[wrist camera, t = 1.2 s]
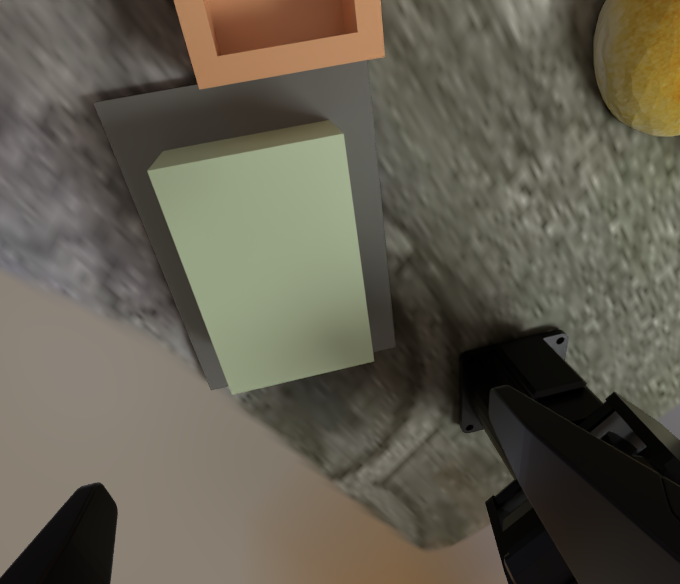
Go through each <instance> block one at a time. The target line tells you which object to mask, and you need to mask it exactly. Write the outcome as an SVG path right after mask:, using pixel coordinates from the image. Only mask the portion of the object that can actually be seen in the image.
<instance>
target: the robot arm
mask: <svg viewBox="0 0 680 584" xmlns="http://www.w3.org/2000/svg"><path fill="white" fill-rule="evenodd" d="M558 338H559V339H558ZM567 344H568V336H567V334H566V333H564V332H563V331H562V330H555V331H551V332H547V333H542V334H538V335H534V336H530V337H526V338H521V339H517V340H513V341H509V342H504V343H500V344H496V345H492V346H488V347H483V348H479V349H475V350H471V351H467V352H465V353H463V354H462V355H461V357H460V427H461V429H462V431H463V432H464V433H471V432H475V431H479V430H483V429H484V430H485V432H486V433H487V435H488V437H489V438H490V440H491V442H492V443H493V445H494V446H495V448H496V450H497V451H498V453H499V455H500V456H501V458H502V460H503V461H504V463H505V465H506V466H507V468H508V470H509V471H510V473H511V475H512V476H513V478H514V479H515V480H513V481H512V482H511V483H510V484H509V485H508V486H506V487H505V488H504V489H503V490H502V491H501V492H499V493H498V494H497V495H496V496H492V497H491V498H489V499H488V500H487V501H486V502H485V504H486V507H487V511H488V514H489V518H490V522H491V525H492V529H493V533H494V536H495V540H496V543H497V547H498V551H499V554H500V557H501V561H502V565H503V568H504V572H505V575H506V578H507V581H508V584H680V440H679V439H678V438H677V437H676V436H674V435H673V434H672V433H671V432H670V431H669V430H668V429H666V428H665V427H664V426H663V425H662V424H661V423H659V422H658V421H657V420H655V419H654V418H652V417H651V416H649V415H648V414H646V413H645V412H643V411H642V410H641V409H639V408H638V407H636V406H635V405H633V404H632V403H630V402H629V401H627V400H626V399H624V398H623V397H622V396H620V395H619V394H617V393H616V392H613V393H612V394H611V395H610V396H608V397H607V398H606V402H605V403H603V402H602V401H601V400H600V399H599V398H598V397H597V396H596V395H595V394H594V393H593V392H592V391H591V390H590V389H589V388H588V387H587V386H586V382H585V380H584V379H583V378H582V377H581V376H580V375H579V374H578V373H577V372H576V371H575V370H574V369H573V368H572V367H571V366H570V365H569V364H568V363H567V362H566V361H565V356H566V350H567ZM469 359H471V360H469ZM468 360H469V361H468ZM117 515H118V512H117V506H116V503H115V501H114V500H113V499H112V497H111V496H110V494H109V493H108V491H107V490H106V488H105V487H104V485H103V484H101V483H99V482H98V483H93V484H88V485H84V486H81V487H80V488H78V489H77V490H76V491H75V492H74V494H73V495H72V496H71V497H70V498H69V499H68V500H67V502H66V503H65V504H64V505H63V506H62V507H61V508H60V510H59V511H58V512H57V513H56V514H55V515H54V517H53V518H52V519H51V520H50V521H49V522H48V523H47V525H46V526H45V527H44V528H43V529H42V530H41V531H40V533H39V534H38V535H37V536H36V537H35V538H34V540H33V541H32V542H31V543H30V544H29V545H28V546H27V548H26V549H25V550H24V551H23V552H22V553H21V554H20V556H19V557H18V558H17V559H16V560H15V561H14V562H13V564H12V565H11V566H10V567H9V568H8V569H7V570H6V572H5V573H4V574H3V575H2V576H1V577H0V584H110V581H111V573H112V564H113V554H114V544H115V534H116V525H117Z"/></svg>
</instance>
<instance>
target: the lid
mask: <svg viewBox="0 0 680 584" xmlns="http://www.w3.org/2000/svg"><path fill="white" fill-rule="evenodd" d="M147 172H148V174H149V177H150V180H151V182H152V185H153V188H154V190H155V193H156V196H157V198H158V201H159V203H160V206H161V209H162V211H163V214H164V217H165V219H166V222H167V225H168V227H169V230H170V233H171V235H172V238H173V240H174V243H175V246H176V248H177V251H178V254H179V256H180V259H181V262H182V264H183V267H184V270H185V272H186V275H187V277H188V280H189V283H190V285H191V288H192V291H193V293H194V296H195V299H196V301H197V304H198V307H199V309H200V312H201V314H202V317H203V320H204V322H205V325H206V328H207V330H208V333H209V336H210V338H211V341H212V344H213V346H214V349H215V351H216V354H217V357H218V359H219V362H220V365H221V367H222V370H223V373H224V375H225V378H226V381H227V383H228V386H229V388H230V391H231V394H232V395H233V394H238V393H242V392H246V391H250V390H255V389H259V388H263V387H267V386H272V385H276V384H280V383H284V382H289V381H293V380H297V379H301V378H306V377H310V376H314V375H318V374H323V373H327V372H331V371H335V370H340V369H344V368H348V367H353V366H357V365H361V364H365V363H370V362H374V356H373V348H372V341H371V333H370V326H369V318H368V311H367V303H366V296H365V289H364V281H363V274H362V266H361V259H360V251H359V244H358V237H357V229H356V222H355V214H354V207H353V199H352V192H351V184H350V177H349V170H348V162H347V155H346V147H345V140H344V133H343V132H342V131H341V130H339V129H338V128H337V127H336V126H335V125H334V124H333V123H332V122H331V121H330V120H326V121H321V122H315V123H310V124H305V125H299V126H294V127H289V128H283V129H278V130H273V131H267V132H262V133H256V134H251V135H246V136H240V137H235V138H230V139H224V140H219V141H214V142H208V143H203V144H198V145H192V146H187V147H182V148H176V149H171V150H166V151H163V152H162V153H161V154H160V155H159V157H158V158H157V159H156V160H155V162H154V163H153V164H152V165H151V167H150V168H149V169H148V171H147Z"/></svg>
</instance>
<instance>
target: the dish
mask: <svg viewBox="0 0 680 584" xmlns="http://www.w3.org/2000/svg"><path fill="white" fill-rule="evenodd" d="M174 4H175V7H176V10H177V14H178V17H179V21H180V24H181V28H182V31H183V35H184V38H185V42H186V45H187V49H188V52H189V56H190V59H191V63H192V66H193V70H194V73H195V77H196V80H197V84H198V87H199V90H200V89H206V88H211V87H217V86H222V85H228V84H234V83H239V82H245V81H251V80H256V79H262V78H268V77H273V76H279V75H285V74H290V73H296V72H302V71H307V70H313V69H319V68H324V67H330V66H335V65H341V64H347V63H352V62H358V61H364V60H369V59H375V58H381V57H385V52H384V39H383V27H382V14H381V2H380V0H174Z"/></svg>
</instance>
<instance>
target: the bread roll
mask: <svg viewBox="0 0 680 584" xmlns="http://www.w3.org/2000/svg"><path fill="white" fill-rule="evenodd" d="M593 56H594V68H595V76H596V81H597V85H598V87H599V89H600V92H601V95H602V98H603V100H604V102H605V103H606V105H607V107H608V108H609V110H610V111H611V112H612V114H613V115H614V116H615V117H616V118H617V119H618V120H619V121H621V122H622V123H624V124H626V125H628V126H630V128H634V129H636V130H639V131H641V132H643V133H646V134H649V135H653V136H678V135H680V0H606V1H605V3H604V5H603V6H602V9H601V11H600V13H599V17H598V21H597V25H596V30H595V35H594V55H593Z"/></svg>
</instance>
